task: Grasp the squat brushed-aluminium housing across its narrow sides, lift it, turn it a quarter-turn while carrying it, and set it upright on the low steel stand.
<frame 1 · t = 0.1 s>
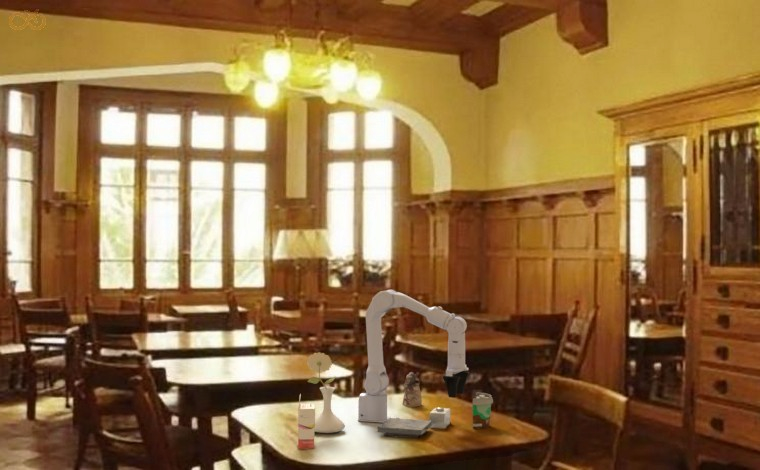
hand: (456, 395, 278), 10 cm above the table, fingers open, 7 cm apart
juice box: (306, 446, 250), on the table
flower in vase: (324, 432, 268), on the table
housing: (439, 425, 279), on the table
figurine: (412, 405, 313), on the table
stand: (405, 433, 266), on the table
food container: (483, 426, 278), on the table
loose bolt: (405, 425, 279), on the table
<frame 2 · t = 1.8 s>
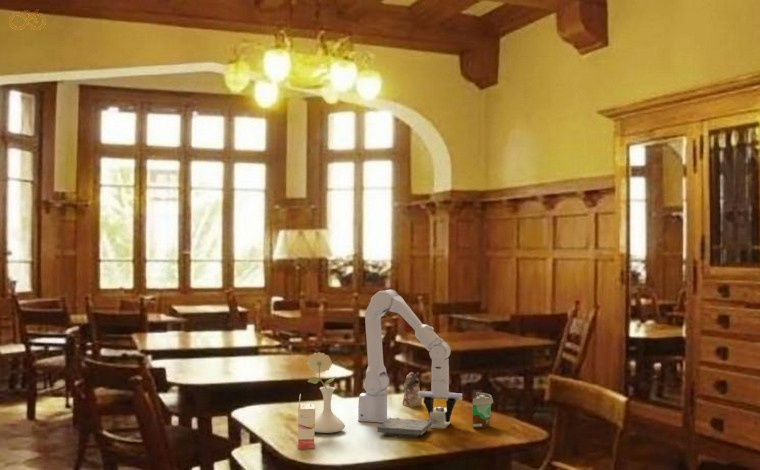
hand: (439, 420, 279), 1 cm above the table, fingers closed on housing, 5 cm apart
housing: (439, 425, 278), on the table, touching gripper
everything else where it was.
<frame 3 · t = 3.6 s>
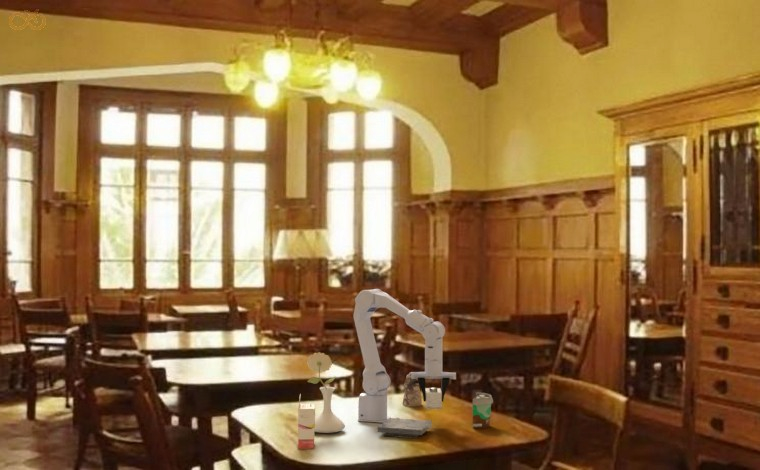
hand: (433, 401, 276), 8 cm above the table, fingers closed on housing, 5 cm apart
housing: (433, 406, 276), point 7 cm above the table, touching gripper
everything else where it was.
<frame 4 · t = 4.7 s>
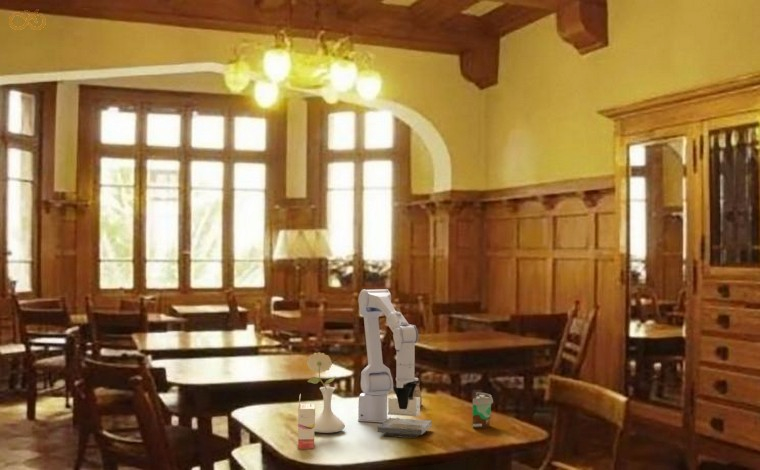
hand: (405, 407, 266), 8 cm above the table, fingers closed on housing, 5 cm apart
housing: (404, 413, 266), point 6 cm above the table, touching gripper
everything else where it was.
when the fingers open (5 cm above the table, at t = 5.6 s): housing stays where it is, resting on stand.
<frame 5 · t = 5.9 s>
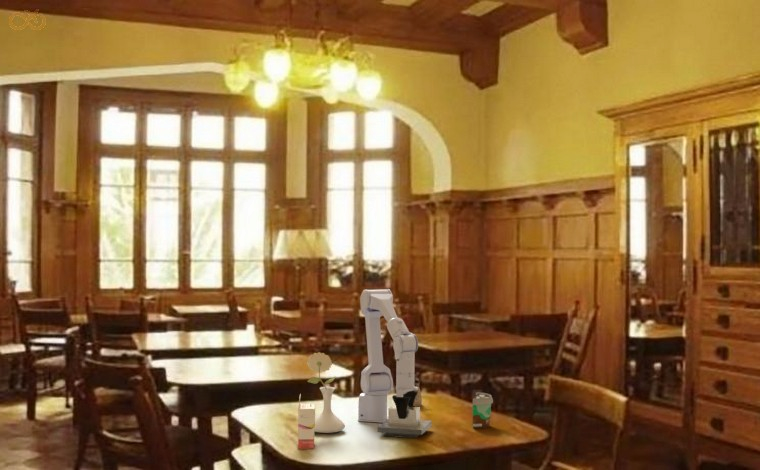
hand: (405, 416, 266), 5 cm above the table, fingers open, 7 cm apart
housing: (404, 423, 266), point 3 cm above the table, touching stand
everything else where it was.
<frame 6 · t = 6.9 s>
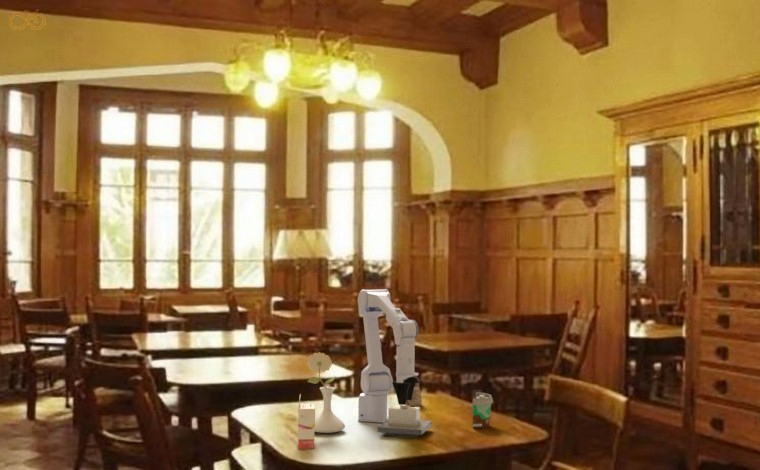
hand: (405, 402, 266), 10 cm above the table, fingers open, 7 cm apart
nothing on the table moved.
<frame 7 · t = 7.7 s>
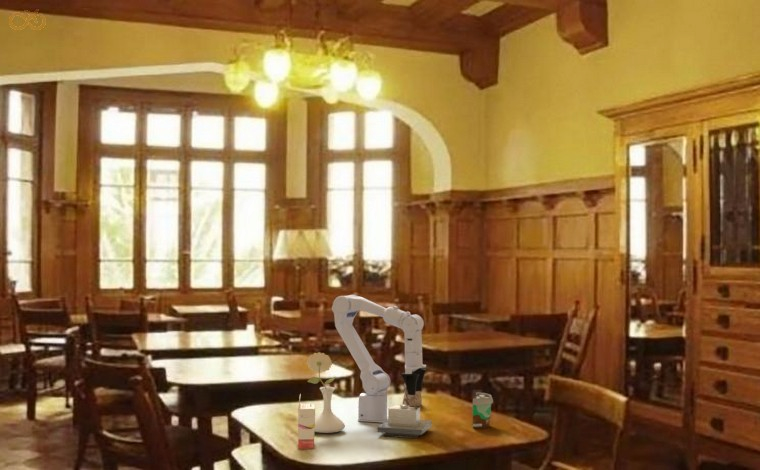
hand: (414, 392, 280), 10 cm above the table, fingers open, 7 cm apart
nothing on the table moved.
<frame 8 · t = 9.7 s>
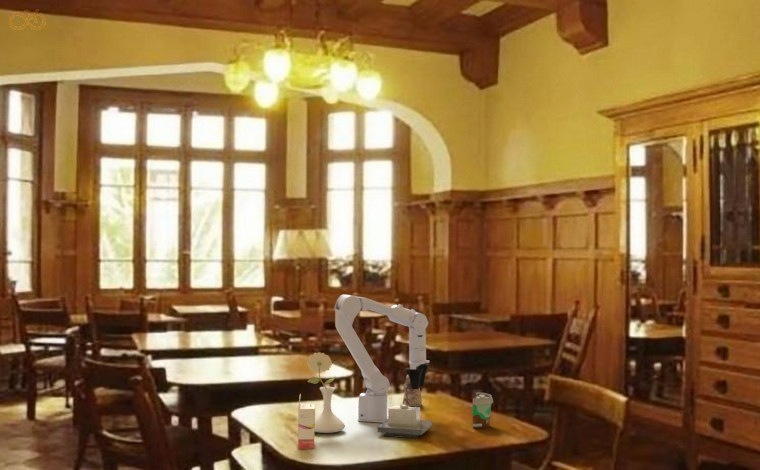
hand: (418, 387, 290), 10 cm above the table, fingers open, 7 cm apart
nothing on the table moved.
at the end: housing inside the target area on the stand (0.3 cm from its centre), point 3.0 cm above the stand's base; housing tilted 0°; the gripper is holding nothing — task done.
